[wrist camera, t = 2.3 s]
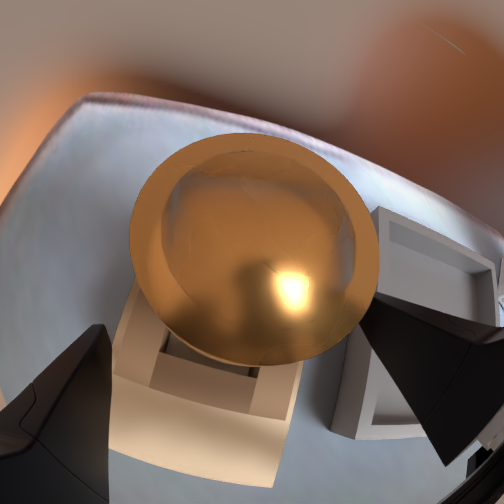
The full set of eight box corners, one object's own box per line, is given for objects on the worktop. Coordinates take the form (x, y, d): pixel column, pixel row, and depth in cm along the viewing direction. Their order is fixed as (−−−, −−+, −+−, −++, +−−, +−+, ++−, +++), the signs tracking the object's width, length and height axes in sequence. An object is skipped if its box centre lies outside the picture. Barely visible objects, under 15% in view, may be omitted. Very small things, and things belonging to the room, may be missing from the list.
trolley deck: (268, 482, 14) (285, 505, 11) (93, 436, 13) (71, 449, 10) (320, 228, 23) (342, 201, 19) (179, 185, 22) (178, 151, 18)
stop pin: (247, 377, 16) (367, 386, 5) (165, 354, 16) (87, 312, 4) (265, 300, 18) (378, 175, 7) (188, 277, 18) (186, 113, 6)
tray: (467, 424, 18) (492, 424, 15) (329, 431, 16) (354, 439, 13) (473, 274, 25) (494, 263, 22) (357, 226, 24) (378, 205, 21)
